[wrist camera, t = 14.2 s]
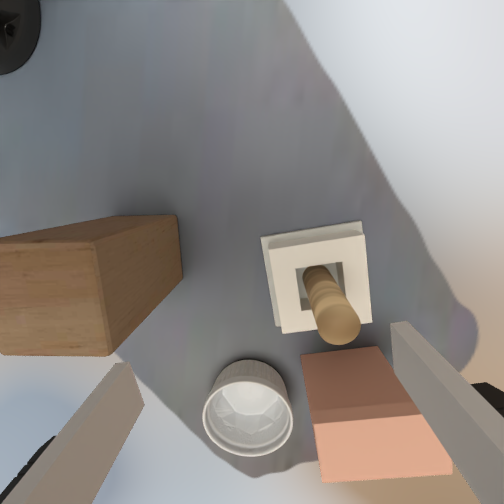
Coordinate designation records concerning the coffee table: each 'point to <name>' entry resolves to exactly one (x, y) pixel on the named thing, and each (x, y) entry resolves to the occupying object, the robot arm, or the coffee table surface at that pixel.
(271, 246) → the socket
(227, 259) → the coffee table surface
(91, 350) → the wooden block
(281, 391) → the ramekin
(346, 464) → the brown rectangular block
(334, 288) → the peg
